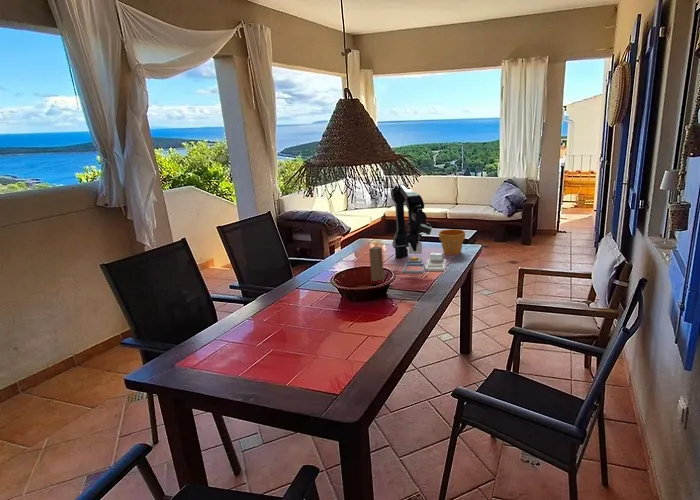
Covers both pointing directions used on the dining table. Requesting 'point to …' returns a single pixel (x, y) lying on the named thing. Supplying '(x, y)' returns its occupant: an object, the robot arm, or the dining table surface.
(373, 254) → the wooden block
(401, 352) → the dining table surface
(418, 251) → the billet
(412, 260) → the button
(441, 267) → the white divided tray
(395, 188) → the robot arm
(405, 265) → the tray
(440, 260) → the block
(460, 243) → the flower pot
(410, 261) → the grey square frame
